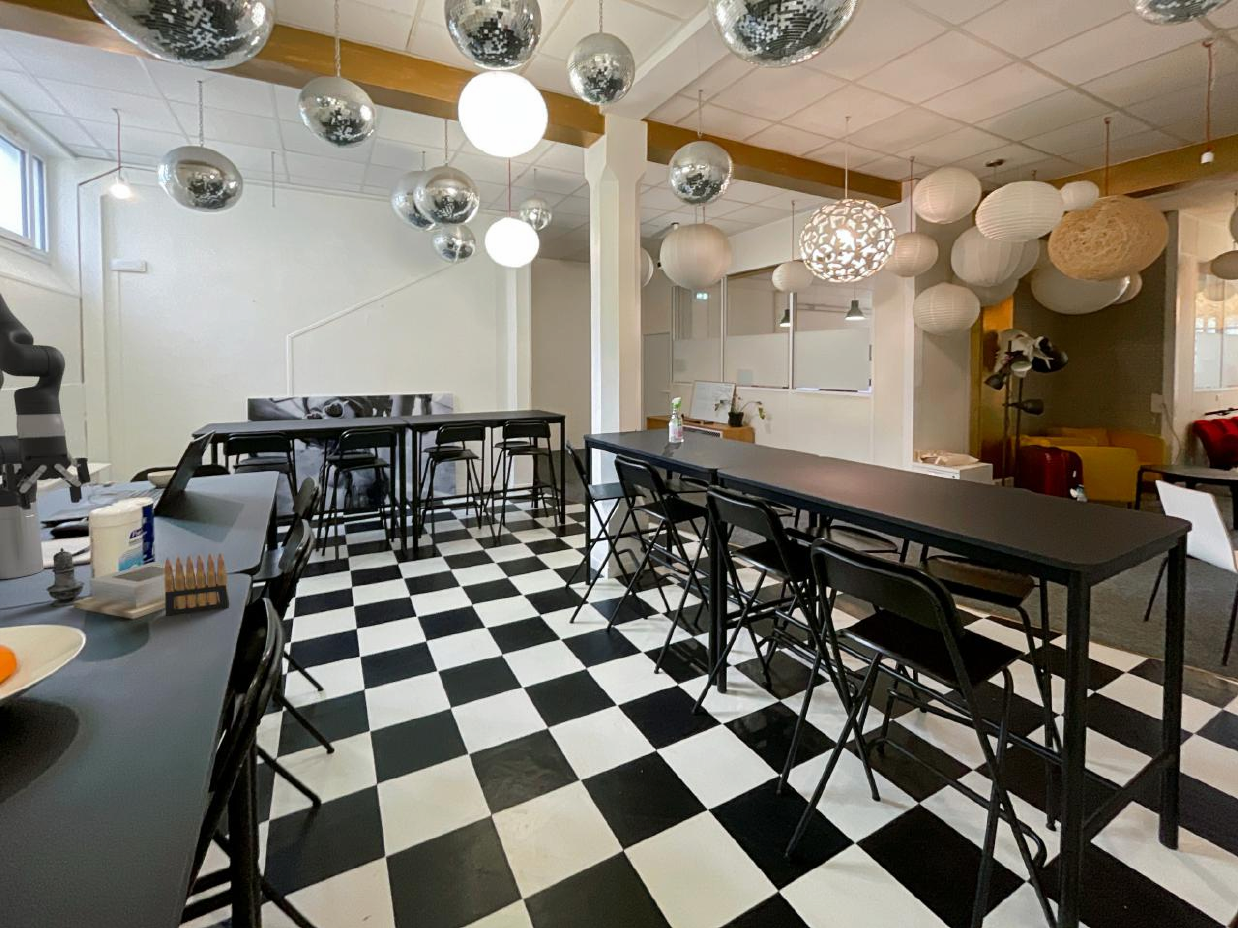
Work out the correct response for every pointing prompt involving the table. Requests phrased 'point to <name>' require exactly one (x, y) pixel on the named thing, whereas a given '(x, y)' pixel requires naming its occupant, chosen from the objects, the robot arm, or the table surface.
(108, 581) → the square socket
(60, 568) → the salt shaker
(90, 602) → the base board
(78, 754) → the table surface
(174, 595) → the ammunition clip
